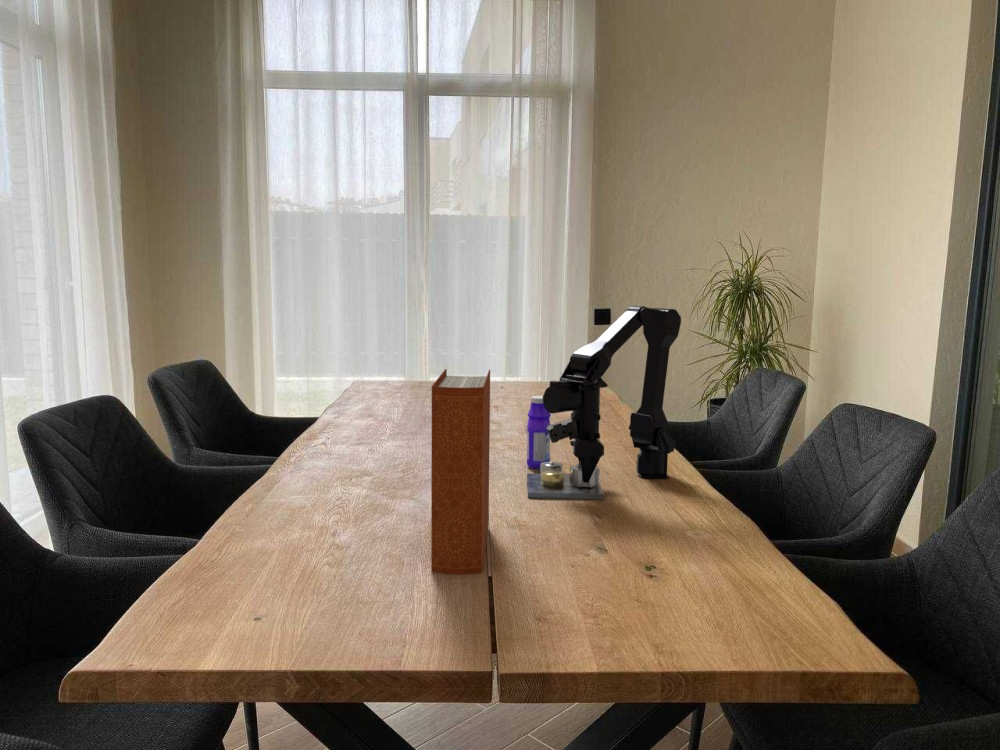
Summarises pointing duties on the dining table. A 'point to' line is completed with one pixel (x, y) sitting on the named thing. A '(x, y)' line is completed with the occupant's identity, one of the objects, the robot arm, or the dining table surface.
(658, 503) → the dining table surface
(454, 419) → the book
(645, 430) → the robot arm
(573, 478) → the planet gear
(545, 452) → the bottle
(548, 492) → the plate
